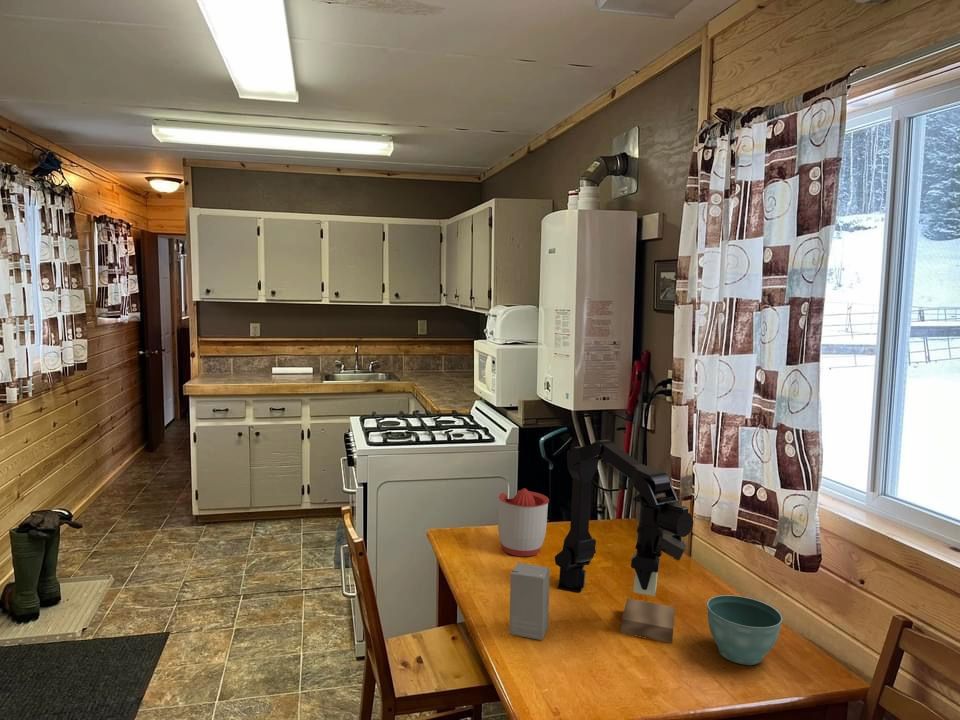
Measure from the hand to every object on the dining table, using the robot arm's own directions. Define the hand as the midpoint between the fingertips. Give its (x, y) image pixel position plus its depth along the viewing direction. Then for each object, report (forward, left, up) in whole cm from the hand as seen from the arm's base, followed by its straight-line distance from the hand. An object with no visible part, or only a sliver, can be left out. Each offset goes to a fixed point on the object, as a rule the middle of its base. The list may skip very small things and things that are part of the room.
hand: (645, 585), depth 167 cm
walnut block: (+1, +1, -12) cm, 12 cm away
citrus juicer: (-41, +36, -11) cm, 56 cm away
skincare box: (-26, -14, -11) cm, 31 cm away
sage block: (0, 0, -1) cm, 1 cm away
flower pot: (+22, -4, -11) cm, 25 cm away
